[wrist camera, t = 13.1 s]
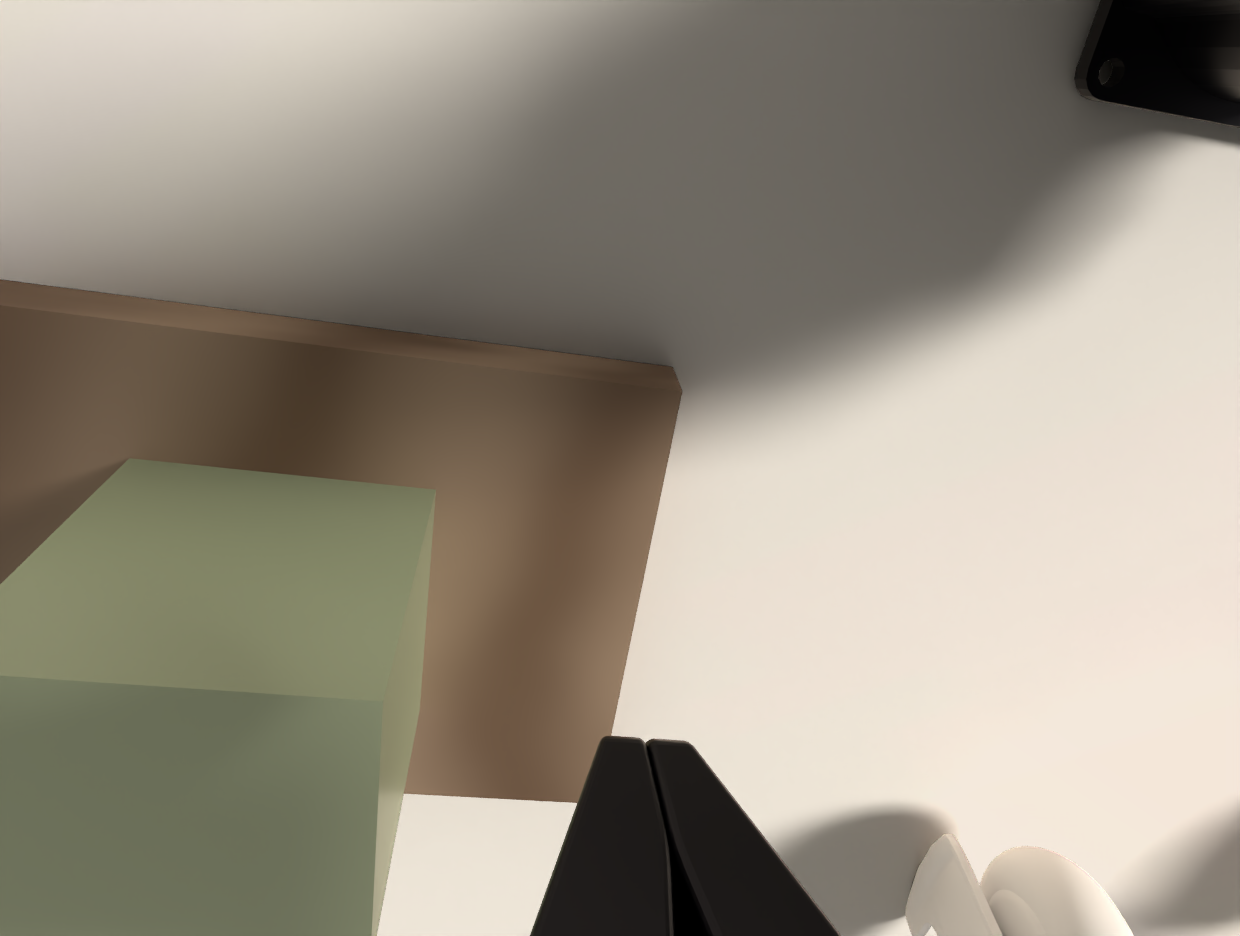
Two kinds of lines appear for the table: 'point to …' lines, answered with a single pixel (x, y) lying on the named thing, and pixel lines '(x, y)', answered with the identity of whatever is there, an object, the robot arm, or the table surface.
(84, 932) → the sage green cube
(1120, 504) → the table surface
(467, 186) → the table surface
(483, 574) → the brown rectangular block
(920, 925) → the headset
